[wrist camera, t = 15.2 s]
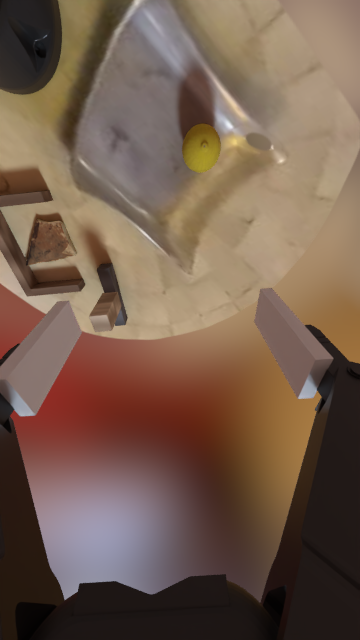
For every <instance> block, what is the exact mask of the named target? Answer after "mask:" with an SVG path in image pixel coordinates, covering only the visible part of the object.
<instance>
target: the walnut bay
mask: <svg viewBox="0 0 360 640" xmlns="http://www.w3.org/2000/svg"><path fill="white" fill-rule="evenodd" d="M52 200H53V198H52V196H51V193H50V191H40V192H30V193H21V194H12V195H2V196H0V207H3V206H13V205H22V204H32V203H41V202H48V201H52ZM0 250H1V252H2V253H3V255H4V257H5V259H6V260H7V262H8V264H9V266H10V267H11V269H12V271H13V273H14V274H15V276H16V278H17V280H18V281H19V283H20V285H21V287H22V288H23V290H24V292H25V294H26V295H27V296H36V295H47V294H57V293H68V292H78V291H81V290H82V289H83V287H84V286H85V283H84V280H83V279H76V280H66V281H56V282H46V283H38V282H37V280H36V278H35V276H34V274H33V273H32V271H31V269H30V267H29V265H27V266H26V259H25V257H24V255H23V253H22V251H21V249H20V247H19V245H18V243H17V242H16V240H15V238H14V236H13V234H12V232H11V230H10V228H9V226H8V224H7V222H6V220H5V218H4V216H3V214H2V213H1V211H0Z"/></svg>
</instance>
